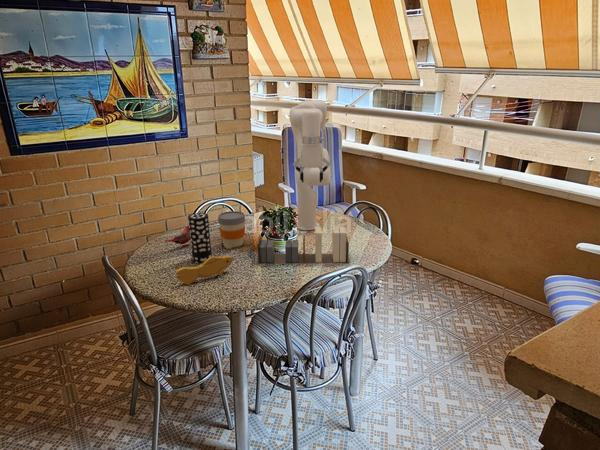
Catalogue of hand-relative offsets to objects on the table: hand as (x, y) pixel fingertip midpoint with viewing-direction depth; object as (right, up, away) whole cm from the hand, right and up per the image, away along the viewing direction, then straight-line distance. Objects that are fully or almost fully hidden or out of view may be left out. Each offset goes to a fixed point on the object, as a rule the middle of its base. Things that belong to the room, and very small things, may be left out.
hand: (311, 181), depth 178 cm
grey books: (-14, -34, -4) cm, 36 cm away
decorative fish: (-42, -41, -18) cm, 61 cm away
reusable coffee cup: (-36, -29, +15) cm, 49 cm away
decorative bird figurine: (-60, -30, +14) cm, 69 cm away
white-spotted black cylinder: (-48, -34, 0) cm, 59 cm away
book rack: (-4, -34, -4) cm, 35 cm away
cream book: (+3, -33, -4) cm, 34 cm away
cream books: (+11, -33, -5) cm, 35 cm away
